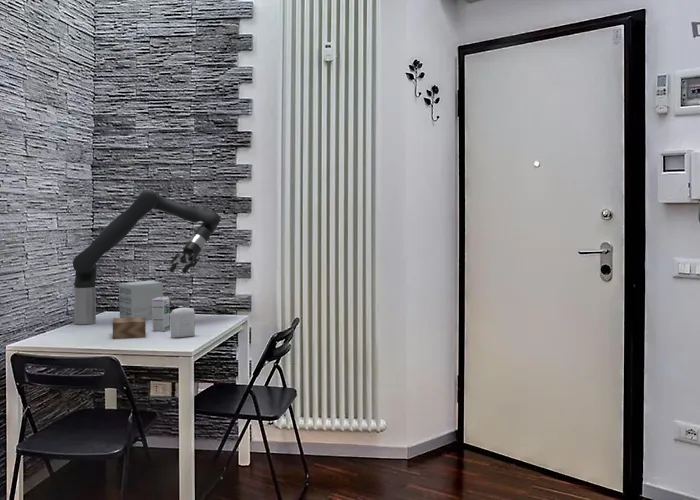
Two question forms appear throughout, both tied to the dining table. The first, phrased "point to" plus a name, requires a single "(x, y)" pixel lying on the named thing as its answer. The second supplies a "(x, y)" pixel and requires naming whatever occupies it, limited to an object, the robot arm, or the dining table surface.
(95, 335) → the dining table surface
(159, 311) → the syrup box
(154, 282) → the supplement box
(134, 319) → the walnut block
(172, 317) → the photo printer
